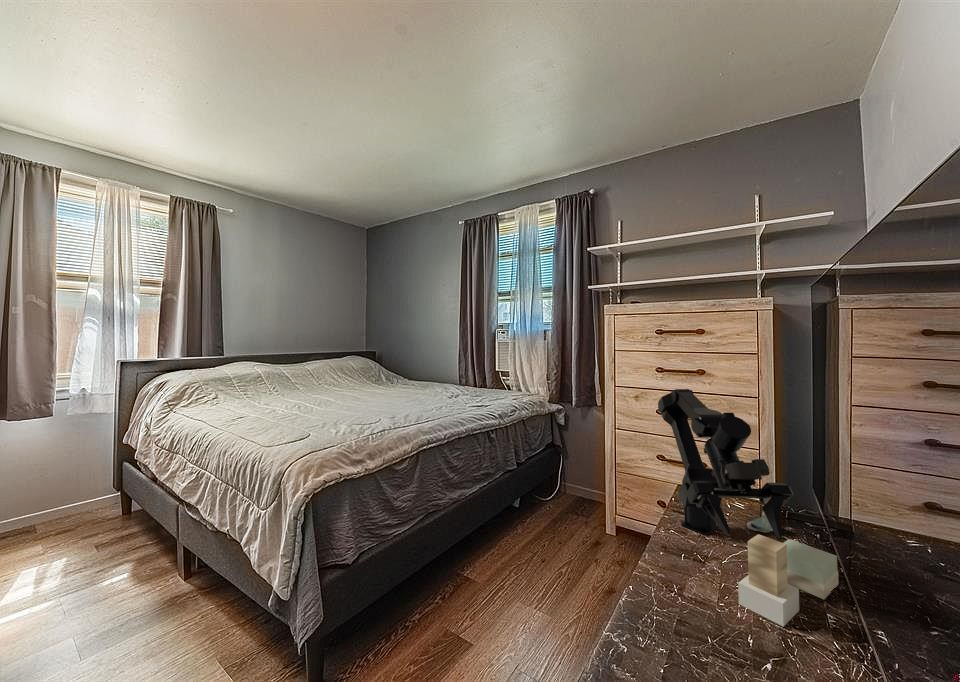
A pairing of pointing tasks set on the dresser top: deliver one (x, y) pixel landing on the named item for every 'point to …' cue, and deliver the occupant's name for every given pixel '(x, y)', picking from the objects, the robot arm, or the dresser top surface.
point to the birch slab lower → (813, 584)
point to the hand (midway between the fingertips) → (754, 536)
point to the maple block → (767, 564)
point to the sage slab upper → (810, 562)
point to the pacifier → (760, 524)
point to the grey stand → (769, 602)
